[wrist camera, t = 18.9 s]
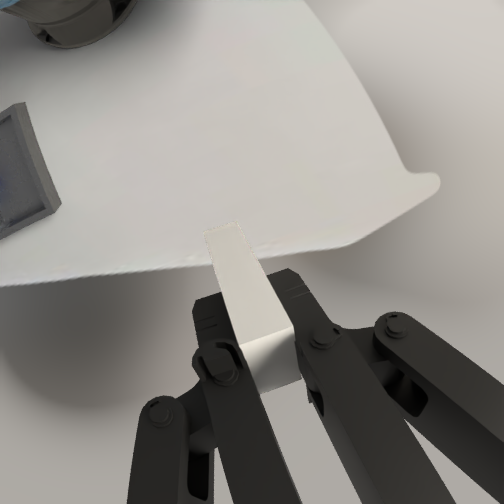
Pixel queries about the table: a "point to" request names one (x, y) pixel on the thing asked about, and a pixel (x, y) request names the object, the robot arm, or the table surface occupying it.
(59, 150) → the table surface
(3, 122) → the tray
